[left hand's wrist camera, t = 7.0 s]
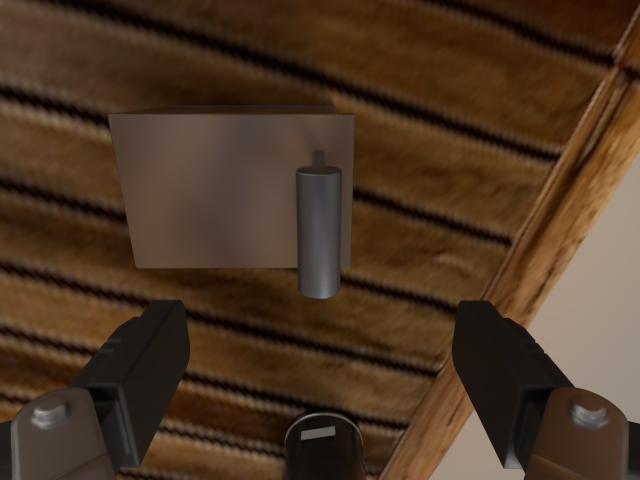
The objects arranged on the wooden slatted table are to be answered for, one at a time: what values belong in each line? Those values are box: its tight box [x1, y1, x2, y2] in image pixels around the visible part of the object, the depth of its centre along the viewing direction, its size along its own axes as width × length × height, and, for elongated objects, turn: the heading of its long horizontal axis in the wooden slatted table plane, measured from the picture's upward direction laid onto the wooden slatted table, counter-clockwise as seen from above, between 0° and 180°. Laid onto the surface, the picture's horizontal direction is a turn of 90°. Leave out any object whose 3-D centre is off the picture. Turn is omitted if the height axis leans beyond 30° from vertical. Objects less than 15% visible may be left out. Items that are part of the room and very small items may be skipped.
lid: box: [108, 113, 355, 299], centre depth 22 cm, size 15×10×9 cm
